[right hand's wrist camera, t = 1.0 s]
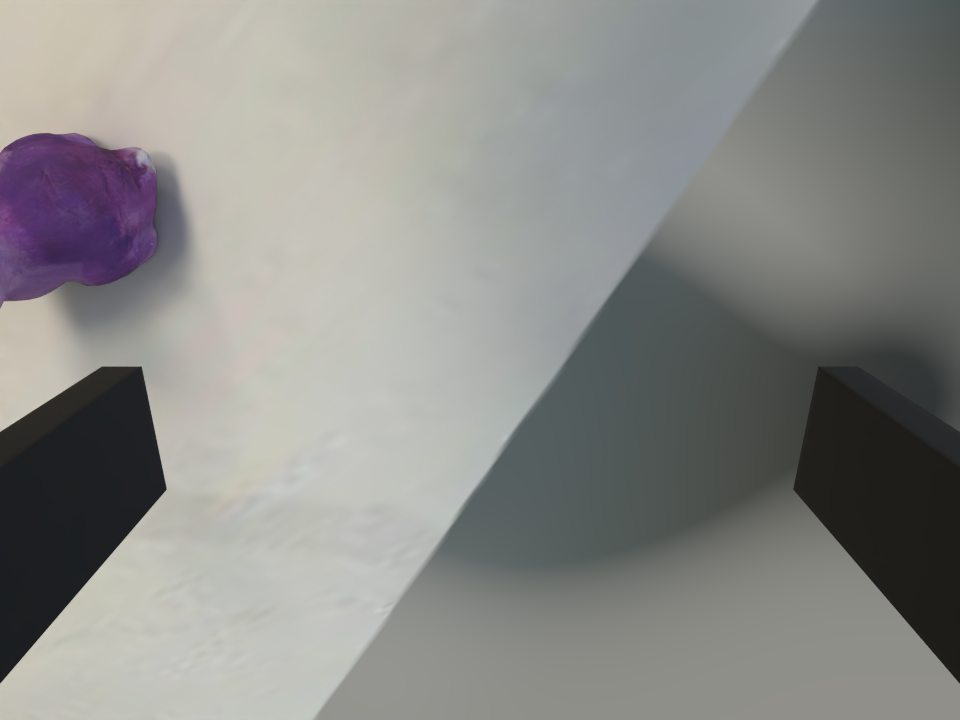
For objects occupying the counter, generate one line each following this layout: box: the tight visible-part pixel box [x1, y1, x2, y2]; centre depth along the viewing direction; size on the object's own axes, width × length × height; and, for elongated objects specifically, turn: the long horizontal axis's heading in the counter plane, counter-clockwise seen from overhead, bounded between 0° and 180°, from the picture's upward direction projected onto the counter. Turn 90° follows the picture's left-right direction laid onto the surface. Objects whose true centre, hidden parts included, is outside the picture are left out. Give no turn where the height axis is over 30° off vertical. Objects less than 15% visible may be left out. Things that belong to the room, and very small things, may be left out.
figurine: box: [0, 133, 157, 308], centre depth 31 cm, size 9×10×15 cm
